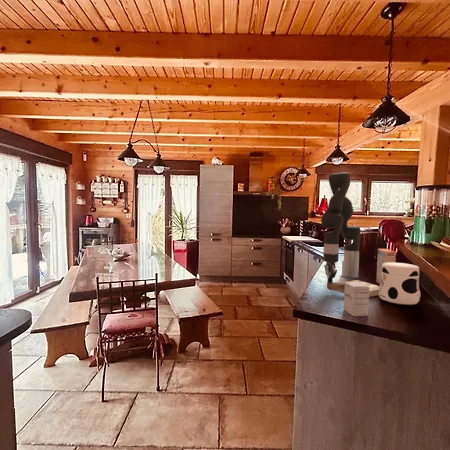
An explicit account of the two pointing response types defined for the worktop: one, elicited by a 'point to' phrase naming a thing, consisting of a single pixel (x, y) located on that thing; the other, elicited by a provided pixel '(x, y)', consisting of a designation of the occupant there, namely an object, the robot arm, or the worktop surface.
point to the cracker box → (384, 261)
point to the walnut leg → (335, 286)
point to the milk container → (400, 284)
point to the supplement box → (356, 298)
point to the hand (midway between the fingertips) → (329, 284)
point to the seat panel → (372, 288)
